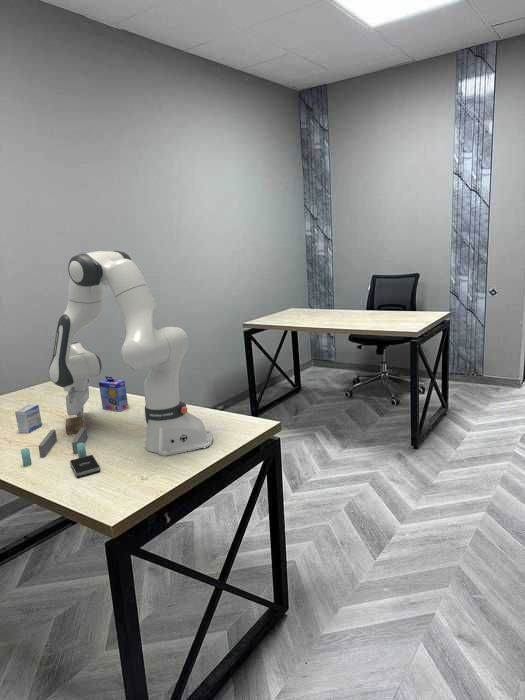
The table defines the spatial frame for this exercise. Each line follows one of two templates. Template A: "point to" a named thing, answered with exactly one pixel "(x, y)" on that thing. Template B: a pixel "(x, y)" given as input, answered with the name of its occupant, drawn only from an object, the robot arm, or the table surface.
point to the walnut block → (74, 425)
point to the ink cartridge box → (113, 394)
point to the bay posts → (27, 458)
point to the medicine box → (28, 418)
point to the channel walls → (52, 438)
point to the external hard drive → (85, 466)
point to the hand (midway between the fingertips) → (80, 418)
